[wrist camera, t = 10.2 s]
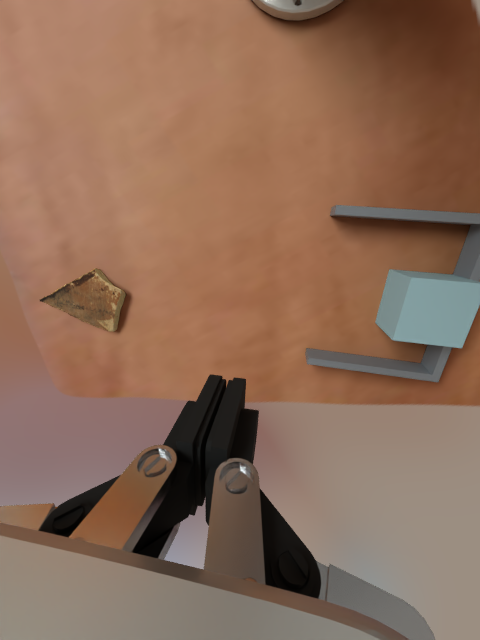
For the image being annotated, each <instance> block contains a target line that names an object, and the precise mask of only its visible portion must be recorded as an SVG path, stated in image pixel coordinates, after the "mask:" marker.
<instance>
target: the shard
mask: <svg viewBox="0 0 480 640" xmlns="http://www.w3.org/2000/svg"><path fill="white" fill-rule="evenodd" d="M125 296H126V294H125V292H124V291H123V290H121V289H119V288H117V287H115V286H113V285H112V283H111V282H109V280H108V279H107V278H106V277H105V275H104V274H103V273H102V271H101V270H99V269H97V268H95V269H93V270H92V271H90V272H89V273H87V274H85V275H83V276H81V277H80V278H78V279H75V280H74V281H72V282H70V283H68V284H66V285H65V286H62V287H61V288H59V289H57V290H56V291H55V292H53V293H52V294H51V295H49V296H46V297H44V298H42V299H41V300H40V301H42V302H44V303H46V304H48V305H51V306H53V307H56V308H58V309H60V310H62V311H64V312H66V313H68V314H69V315H71V316H73V317H76V318H78V319H80V320H82V321H84V322H86V323H89V324H91V325H93V326H96V327H98V328H103V329H105V330H107V331H115V330H116V329H117V327H118V321H119V316H120V310H121V307H122V305H123V302H124V298H125Z"/></svg>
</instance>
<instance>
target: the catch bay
mask: <svg viewBox="0 0 480 640" xmlns="http://www.w3.org/2000/svg"><path fill="white" fill-rule="evenodd" d="M330 216H339V217H355V218H370V219H385V220H400V221H416V222H431V223H446V224H462V225H471V226H470V229H469V232H468V234H467V237H466V240H465V243H464V246H463V248H462V251H461V254H460V257H459V259H458V262H457V265H456V268H455V270H454V273H453V275H456V276H459V277H463V278H467V279H471V280H474V281H478V282H479V280H480V214H477V213H460V212H443V211H427V210H410V209H393V208H377V207H360V206H343V205H335V206H333V207H332V208H331V213H330ZM451 349H452V347H446V346H438V345H429V344H428V345H427V348H426V350H425V353H424V356H423V359H422V361H421V363H415V362H407V361H400V360H392V359H385V358H377V357H370V356H362V355H355V354H347V353H339V352H332V351H324V350H317V349H309V348H306V353H305V355H306V361H307V364H311V365H318V366H325V367H332V368H339V369H347V370H354V371H361V372H368V373H375V374H382V375H389V376H397V377H404V378H411V379H418V380H425V381H432V382H439V379H440V377H441V374H442V372H443V369H444V367H445V364H446V362H447V359H448V357H449V354H450V352H451Z"/></svg>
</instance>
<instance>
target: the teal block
mask: <svg viewBox="0 0 480 640" xmlns="http://www.w3.org/2000/svg"><path fill="white" fill-rule="evenodd" d="M479 305H480V282H478V281H474V280H471V279H467V278H463V277H459V276H456V275H451V274H439V273H427V272H415V271H403V270H391V269H389V273H388V277H387V280H386V284H385V288H384V292H383V295H382V299H381V303H380V307H379V310H378V314H377V318H376V322H375V323H376V324H377V325H378V326H379V327H380V328H381V329H382V330H383V331H384V332H385V333H386V334H387V335H388V336H389V337H390V338H391V339H392V340H395V341H403V342H412V343H420V344H429V345H438V346H446V347H455V348H462V347H463V344H464V342H465V340H466V337H467V335H468V332H469V330H470V327H471V325H472V322H473V320H474V318H475V315H476V313H477V310H478V308H479Z"/></svg>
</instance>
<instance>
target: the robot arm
mask: <svg viewBox="0 0 480 640" xmlns="http://www.w3.org/2000/svg"><path fill="white" fill-rule="evenodd" d="M252 1H253V2H254V3H255V4H256V5H257V6H258V7H259V8H260V9H262V10H263V11H265V12H267V13H268V14H270V15H272V16H274V17H278V18H281V19H284V20H305V19H309V18H314V17H317V16H319V15H321V14H323V13H325V12H328V11H330V10H331V9H333V8H334V7H336V6H337V5H338V4H340V3H341V2H342V1H344V0H252ZM297 4H300V5H299V6H296V5H297ZM245 389H246V379H242V378H234V379H233V380H229V381H228V384H227V387H226V380H225V379H222V376H218V375H209V377H208V379H207V381H206V383H205V385H204V387H203V389H202V391H201V393H200V395H199V397H198V399H197V401H196V402H195V401H188V402H187V403H186V405H185V407H184V408H183V410H182V412H181V414H180V416H179V417H178V419H177V421H176V423H175V424H174V426H173V428H172V430H171V432H170V433H169V435H168V437H167V439H166V440H165V442H164V444H163V445H154V446H151V447H148V448H147V449H145V450H143V451H142V452H141V453H140V454H139V455H137V457H136V458H135V459H134V460H133V461H132V462H131V464H130V465H129V466H128V467H127V468H126V470H125V471H124V472H123V474H121V475H120V476H118V477H115V478H113V479H111V480H109V481H107V482H105V483H103V484H101V485H99V486H97V487H95V488H92V489H90V490H88V491H86V492H84V493H82V494H80V495H78V496H76V497H74V498H72V499H69V500H68V501H66V502H64V503H63V504H61V505H59V506H58V507H55V505H54V503H48V504H29V505H9V506H0V640H435V637H434V634H433V632H432V631H431V629H430V627H429V626H428V624H427V622H426V621H425V619H424V618H423V617H422V616H421V615H420V614H419V612H418V611H417V610H416V609H415V608H414V607H412V606H411V605H410V604H408V603H407V602H405V601H404V600H402V599H400V598H398V597H396V596H394V595H392V594H390V593H388V592H386V591H384V590H382V589H380V588H378V587H376V586H374V585H372V584H370V583H368V582H366V581H364V580H362V579H360V578H358V577H356V576H354V575H352V574H350V573H347V572H346V571H344V570H341V569H339V568H337V567H335V566H333V565H331V564H330V565H329V567H327V566H325V565H323V564H321V563H319V562H317V561H316V560H315V559H314V557H313V555H312V554H311V552H310V551H309V550H308V548H307V547H306V546H305V545H304V543H303V542H302V541H301V540H300V538H299V537H298V536H297V535H296V533H295V532H294V531H293V530H292V528H291V527H290V526H289V525H288V523H287V522H286V521H285V519H284V518H283V517H282V516H281V514H280V513H279V512H278V511H277V509H276V508H275V507H274V506H273V505H272V503H271V502H270V501H269V499H268V498H267V497H266V496H265V494H264V493H263V492H262V491H261V489H260V487H259V476H258V472H257V470H256V468H255V467H254V465H253V460H254V452H255V444H256V436H257V426H258V414H259V411H258V410H250V409H244V407H245ZM205 496H206V522H207V524H208V526H209V529H208V538H207V546H206V555H205V563H204V570H203V569H199V568H195V567H190V566H186V565H182V564H178V563H174V562H170V561H165V560H164V558H165V556H166V554H167V552H168V550H169V548H170V546H171V544H172V542H173V540H174V538H175V536H176V534H177V532H178V529H179V526H180V522H181V521H183V520H184V519H186V518H187V517H188V516H189V514H190V515H195V512H196V509H197V506H202V505H203V503H204V500H205Z"/></svg>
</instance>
